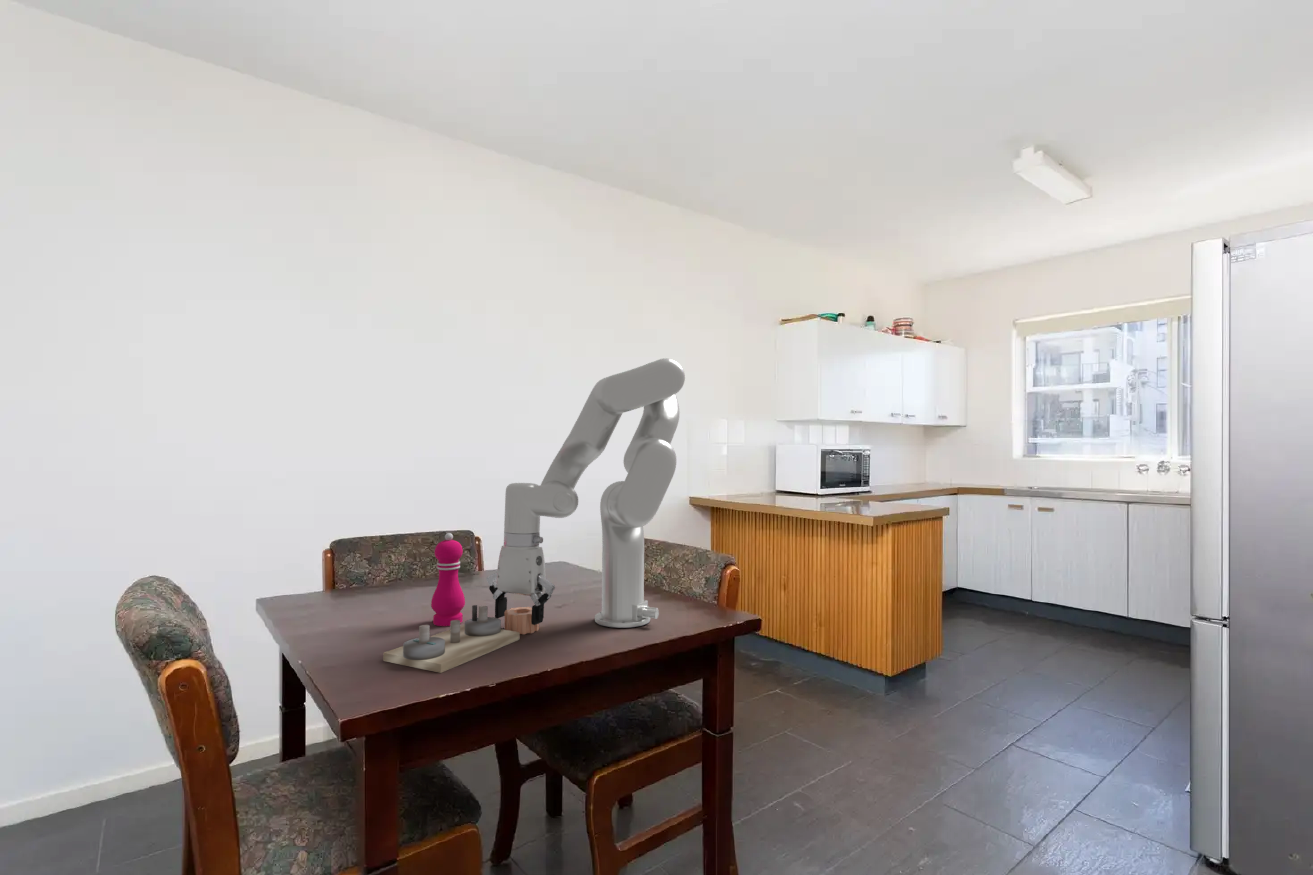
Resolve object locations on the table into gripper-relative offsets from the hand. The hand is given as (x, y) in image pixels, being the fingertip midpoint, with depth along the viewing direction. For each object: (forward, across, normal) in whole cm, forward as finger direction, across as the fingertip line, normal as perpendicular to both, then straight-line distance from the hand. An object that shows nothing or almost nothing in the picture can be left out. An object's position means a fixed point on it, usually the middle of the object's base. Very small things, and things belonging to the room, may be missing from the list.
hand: (518, 620), depth 141 cm
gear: (+2, 0, 0) cm, 2 cm away
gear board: (+2, +2, +16) cm, 17 cm away
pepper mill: (+3, +18, +2) cm, 18 cm away
